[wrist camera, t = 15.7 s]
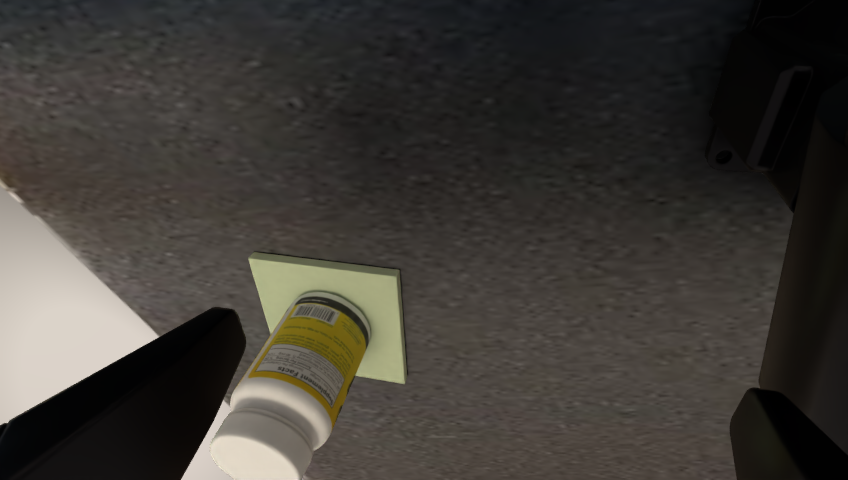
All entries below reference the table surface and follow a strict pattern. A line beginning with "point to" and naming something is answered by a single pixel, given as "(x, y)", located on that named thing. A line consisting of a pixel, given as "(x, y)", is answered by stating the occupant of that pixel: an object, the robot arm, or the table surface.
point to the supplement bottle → (292, 390)
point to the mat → (355, 284)
